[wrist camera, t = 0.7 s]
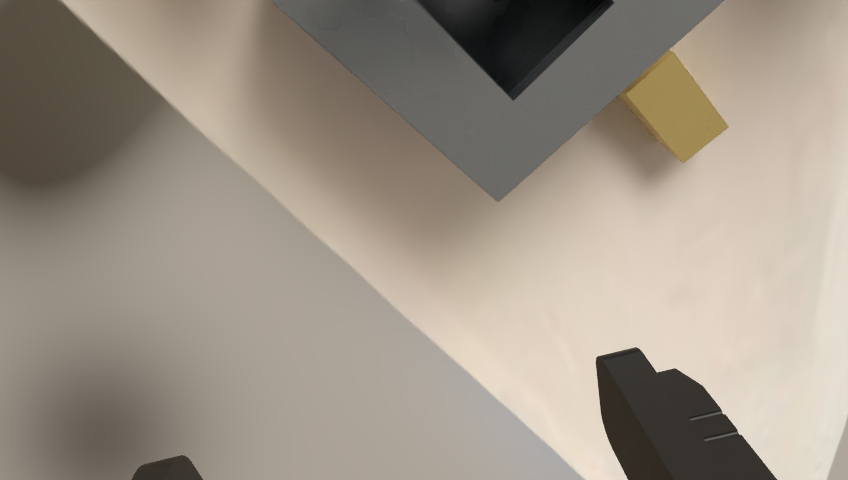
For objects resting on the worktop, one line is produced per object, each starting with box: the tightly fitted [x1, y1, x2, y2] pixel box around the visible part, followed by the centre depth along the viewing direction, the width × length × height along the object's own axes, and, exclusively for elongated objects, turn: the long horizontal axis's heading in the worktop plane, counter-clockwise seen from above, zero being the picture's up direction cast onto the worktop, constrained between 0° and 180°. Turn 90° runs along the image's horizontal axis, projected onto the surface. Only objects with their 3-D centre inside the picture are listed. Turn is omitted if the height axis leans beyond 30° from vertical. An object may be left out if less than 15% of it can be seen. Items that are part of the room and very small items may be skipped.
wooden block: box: [619, 50, 728, 163], centre depth 31 cm, size 3×6×4 cm, turn 46°
